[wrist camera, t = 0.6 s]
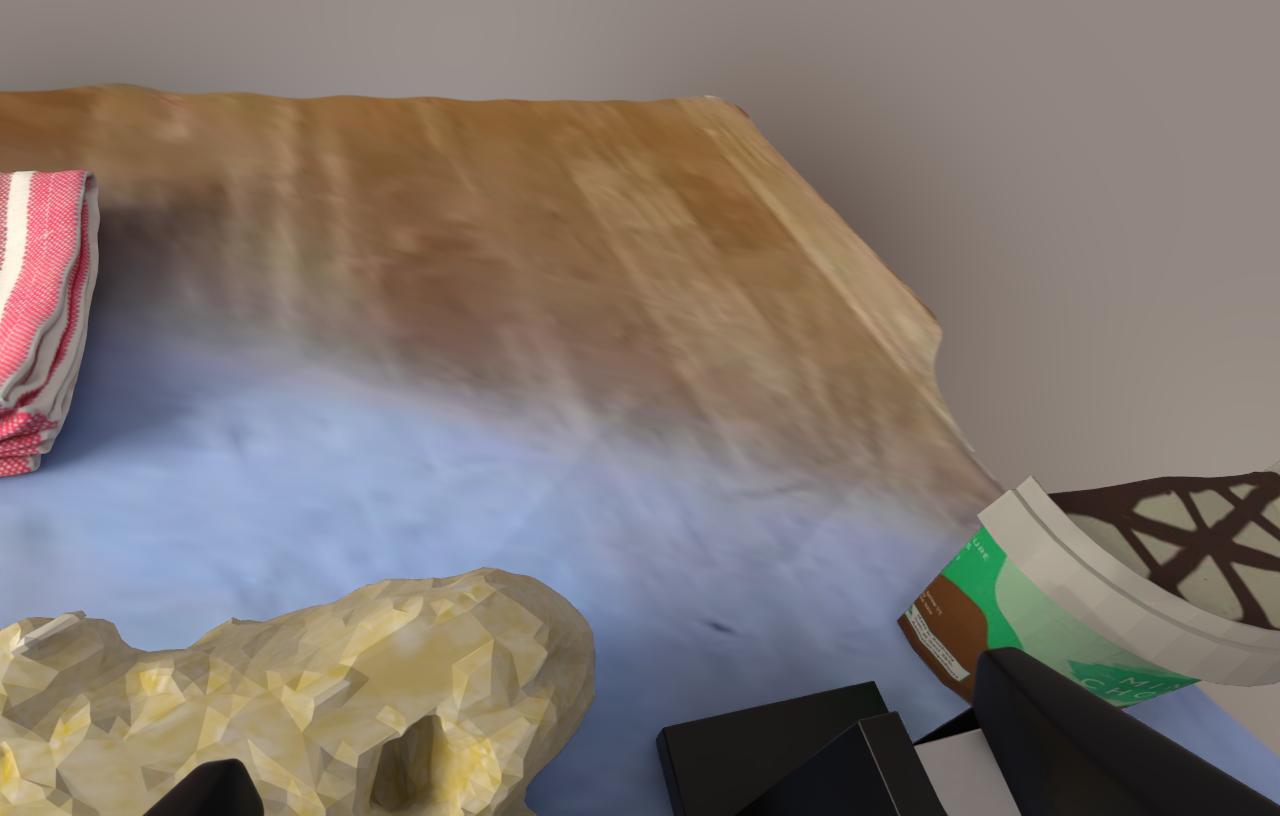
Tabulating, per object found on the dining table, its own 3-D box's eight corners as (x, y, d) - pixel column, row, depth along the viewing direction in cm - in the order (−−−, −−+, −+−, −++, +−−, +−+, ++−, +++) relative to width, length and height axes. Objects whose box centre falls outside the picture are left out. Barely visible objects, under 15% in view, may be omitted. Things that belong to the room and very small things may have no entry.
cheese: (653, 741, 24) (435, 371, 21) (749, 891, 17) (445, 372, 14) (231, 1056, 20) (-107, 660, 17) (136, 1412, 13) (-455, 853, 10)
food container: (942, 798, 23) (1167, 693, 16) (864, 625, 27) (1015, 476, 19) (1204, 733, 26) (1485, 622, 19) (1102, 588, 30) (1304, 451, 23)
